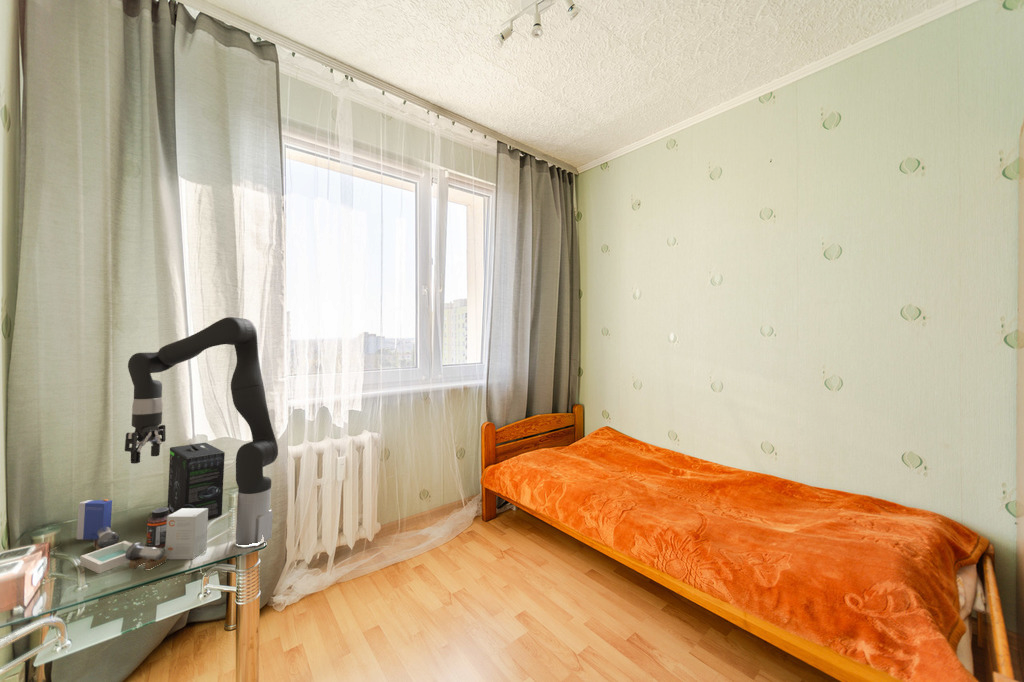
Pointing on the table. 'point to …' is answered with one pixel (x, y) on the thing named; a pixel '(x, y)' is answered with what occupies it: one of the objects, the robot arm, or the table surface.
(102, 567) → the shallow white dish
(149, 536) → the supplement bottle
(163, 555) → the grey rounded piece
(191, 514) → the small box
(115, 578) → the table surface
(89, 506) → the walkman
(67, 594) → the table surface
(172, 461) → the headset box
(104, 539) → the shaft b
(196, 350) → the robot arm
